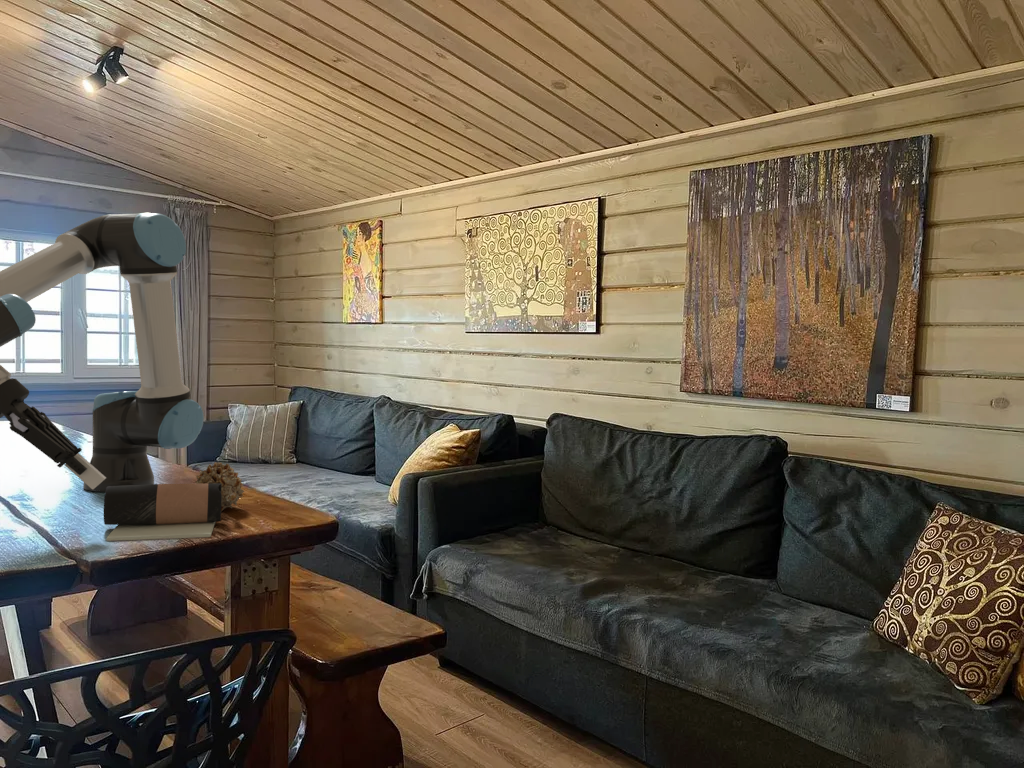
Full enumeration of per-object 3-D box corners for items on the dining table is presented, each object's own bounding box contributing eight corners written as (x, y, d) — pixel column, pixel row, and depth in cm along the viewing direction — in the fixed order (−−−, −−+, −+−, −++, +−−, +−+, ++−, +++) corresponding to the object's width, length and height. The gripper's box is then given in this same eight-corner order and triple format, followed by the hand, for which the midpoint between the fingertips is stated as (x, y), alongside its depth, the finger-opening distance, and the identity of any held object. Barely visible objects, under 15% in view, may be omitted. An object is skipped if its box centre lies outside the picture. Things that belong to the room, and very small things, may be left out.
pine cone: (185, 504, 161) (186, 459, 161) (230, 500, 167) (231, 457, 166) (214, 525, 143) (215, 475, 143) (263, 520, 149) (264, 471, 149)
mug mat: (106, 540, 129) (106, 537, 129) (120, 524, 142) (120, 521, 142) (210, 536, 135) (210, 533, 135) (215, 521, 147) (215, 518, 147)
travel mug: (107, 527, 139) (220, 523, 147) (102, 524, 133) (220, 520, 140) (109, 487, 141) (221, 485, 149) (105, 482, 134) (222, 480, 142)
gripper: (-11, 403, 134) (91, 491, 140) (-39, 408, 122) (73, 505, 127) (23, 374, 135) (122, 463, 141) (-1, 377, 123) (108, 475, 129)
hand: (99, 483), depth 134 cm, fingers closed
